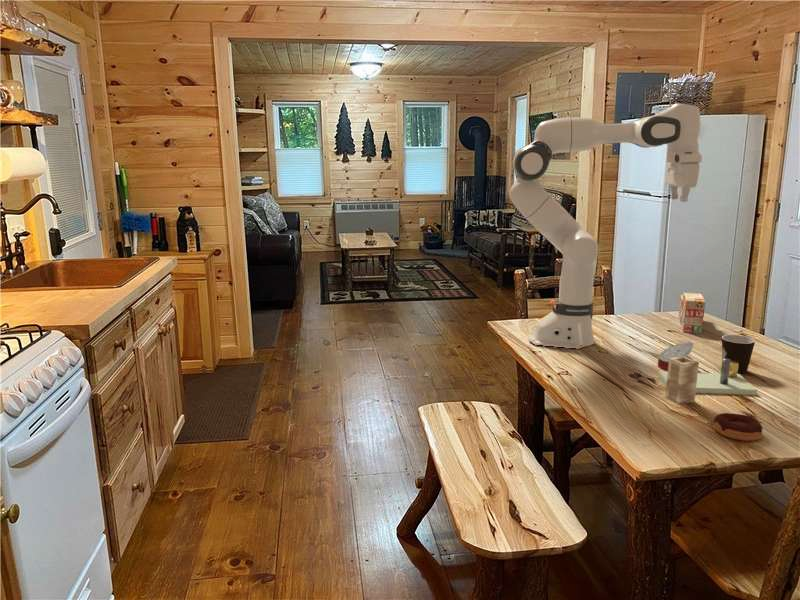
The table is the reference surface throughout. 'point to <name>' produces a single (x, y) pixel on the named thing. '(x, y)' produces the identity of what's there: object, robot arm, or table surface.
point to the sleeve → (682, 379)
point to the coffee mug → (738, 350)
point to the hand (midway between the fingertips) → (678, 200)
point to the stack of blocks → (691, 312)
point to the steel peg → (725, 371)
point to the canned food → (674, 354)
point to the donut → (738, 426)
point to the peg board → (718, 384)
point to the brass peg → (733, 369)
